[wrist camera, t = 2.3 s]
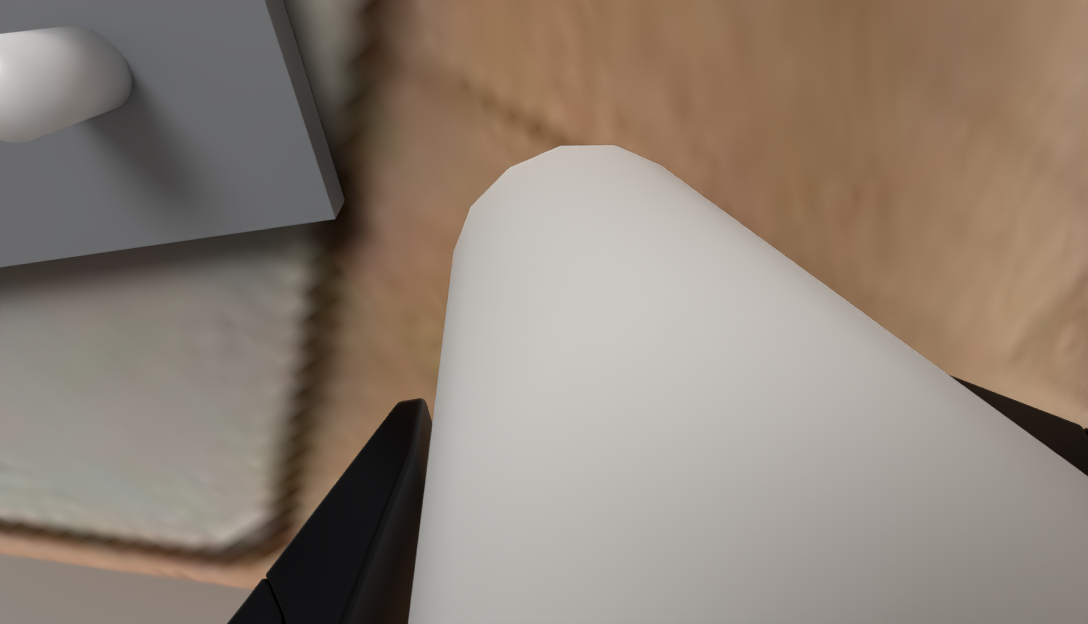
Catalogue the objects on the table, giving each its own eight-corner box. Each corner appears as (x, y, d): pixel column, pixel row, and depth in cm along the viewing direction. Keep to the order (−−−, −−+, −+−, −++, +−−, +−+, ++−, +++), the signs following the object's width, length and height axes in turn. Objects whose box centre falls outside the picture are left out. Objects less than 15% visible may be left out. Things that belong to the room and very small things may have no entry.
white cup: (603, 420, 15) (791, 988, 7) (378, 315, 12) (207, 1035, 4) (778, 227, 13) (1428, 730, 4) (545, 47, 10) (1023, 414, 2)
